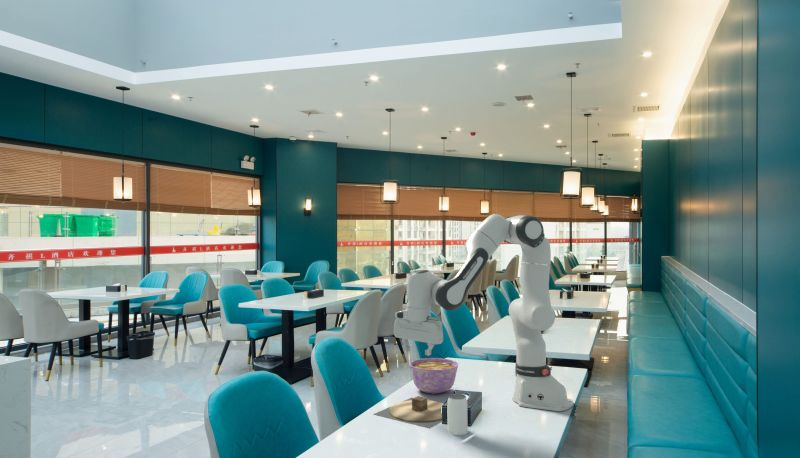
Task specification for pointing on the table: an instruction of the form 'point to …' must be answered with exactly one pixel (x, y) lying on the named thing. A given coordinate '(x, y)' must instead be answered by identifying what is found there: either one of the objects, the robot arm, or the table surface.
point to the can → (457, 414)
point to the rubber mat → (386, 414)
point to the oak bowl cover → (417, 410)
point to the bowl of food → (433, 374)
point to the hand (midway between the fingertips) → (417, 353)
